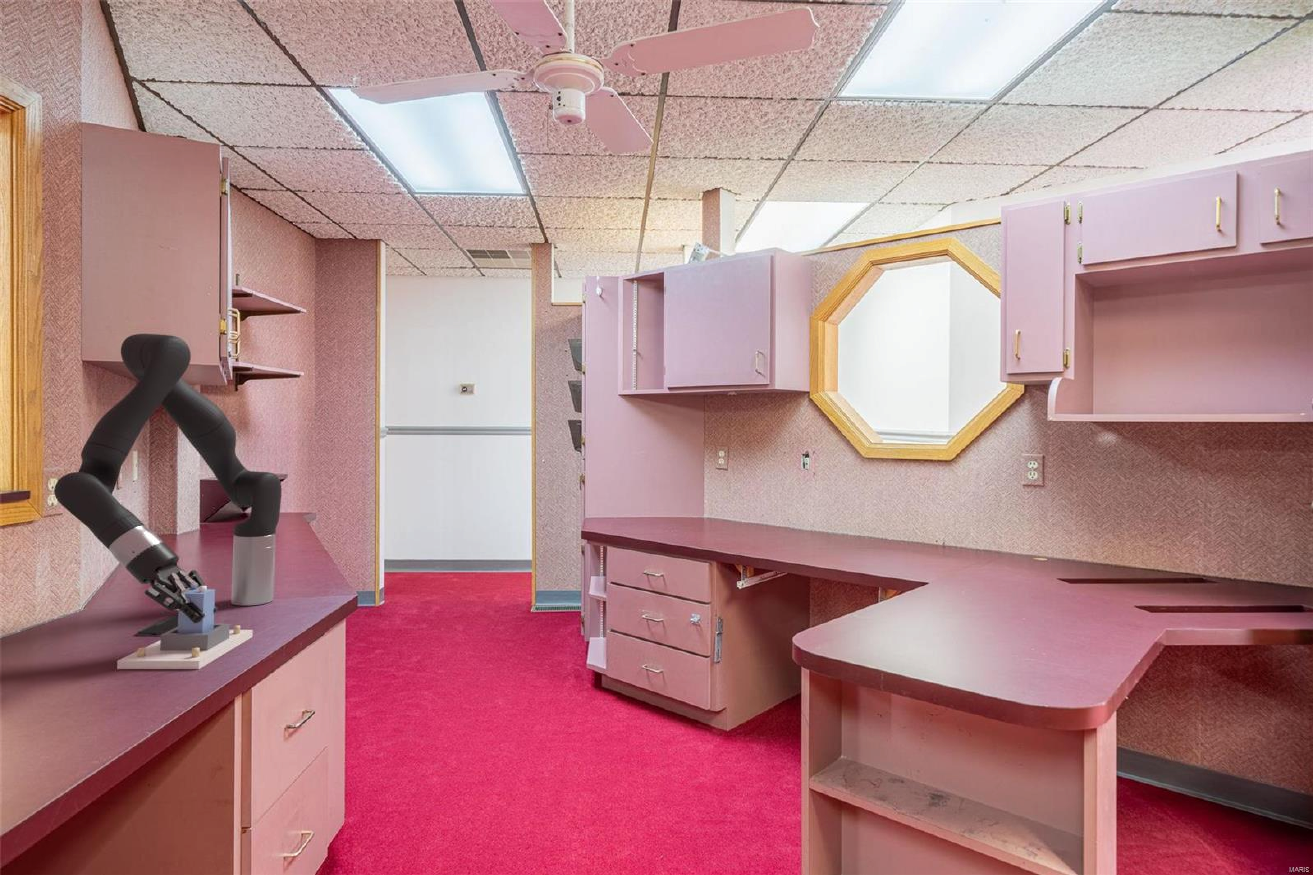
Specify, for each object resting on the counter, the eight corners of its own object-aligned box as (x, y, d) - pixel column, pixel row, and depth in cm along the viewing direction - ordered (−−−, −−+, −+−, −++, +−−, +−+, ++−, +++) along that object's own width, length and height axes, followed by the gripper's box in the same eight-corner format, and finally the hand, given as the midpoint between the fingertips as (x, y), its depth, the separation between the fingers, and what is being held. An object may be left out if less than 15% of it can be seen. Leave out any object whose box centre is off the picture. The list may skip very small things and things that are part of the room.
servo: (189, 633, 136) (191, 584, 136) (213, 634, 136) (215, 584, 136) (177, 639, 132) (179, 588, 132) (202, 640, 132) (204, 588, 132)
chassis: (182, 636, 143) (183, 615, 143) (252, 636, 145) (253, 615, 145) (117, 668, 123) (118, 644, 123) (198, 669, 125) (199, 644, 125)
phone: (212, 613, 158) (174, 632, 144) (211, 618, 158) (174, 637, 144) (175, 613, 158) (134, 632, 143) (175, 618, 158) (134, 637, 143)
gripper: (135, 547, 126) (201, 612, 127) (180, 535, 140) (240, 595, 142) (103, 574, 126) (170, 640, 127) (152, 560, 140) (212, 620, 141)
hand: (207, 616), depth 134 cm, fingers closed on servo, 4 cm apart
